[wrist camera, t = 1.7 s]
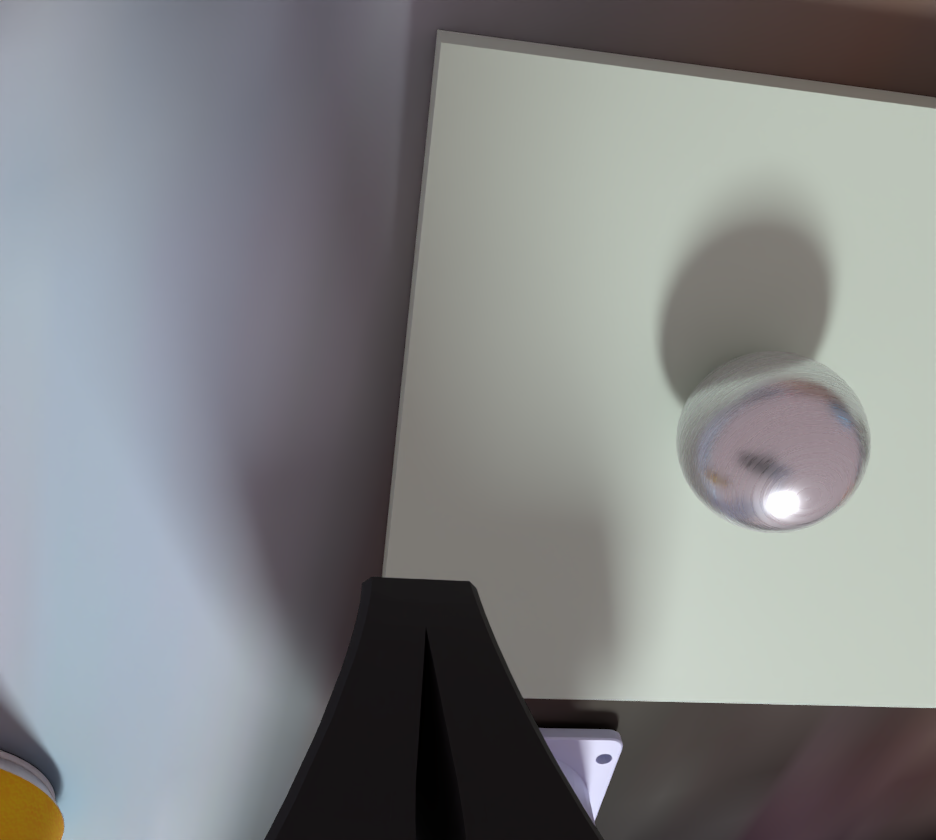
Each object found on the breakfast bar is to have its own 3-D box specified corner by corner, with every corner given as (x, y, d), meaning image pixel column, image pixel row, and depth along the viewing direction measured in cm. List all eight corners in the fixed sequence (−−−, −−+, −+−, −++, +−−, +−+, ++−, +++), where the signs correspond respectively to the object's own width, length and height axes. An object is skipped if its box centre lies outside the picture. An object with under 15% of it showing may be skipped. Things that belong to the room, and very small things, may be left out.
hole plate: (1121, 673, 26) (1158, 713, 25) (374, 650, 23) (373, 694, 21) (1543, 180, 17) (1632, 202, 16) (437, 29, 14) (441, 42, 13)
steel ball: (786, 466, 18) (861, 575, 15) (638, 456, 18) (685, 567, 15) (846, 327, 16) (944, 422, 13) (681, 312, 16) (745, 406, 13)
